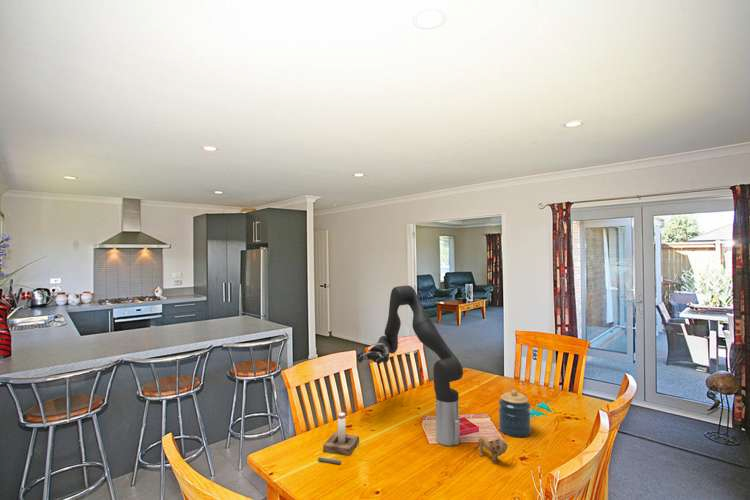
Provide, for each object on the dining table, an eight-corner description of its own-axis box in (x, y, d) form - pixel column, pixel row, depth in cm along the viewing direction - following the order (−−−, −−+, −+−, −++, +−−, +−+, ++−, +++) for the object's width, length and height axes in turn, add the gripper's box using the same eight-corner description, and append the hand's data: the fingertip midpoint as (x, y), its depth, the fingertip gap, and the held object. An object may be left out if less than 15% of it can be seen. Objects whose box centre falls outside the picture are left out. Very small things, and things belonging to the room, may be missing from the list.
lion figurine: (510, 463, 140) (510, 439, 140) (501, 468, 136) (501, 443, 137) (477, 447, 151) (477, 425, 152) (469, 452, 148) (468, 428, 148)
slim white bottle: (346, 445, 154) (346, 412, 154) (343, 449, 151) (343, 415, 151) (339, 444, 155) (339, 411, 155) (336, 447, 152) (336, 415, 152)
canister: (531, 427, 169) (531, 387, 169) (529, 440, 157) (529, 397, 158) (500, 422, 174) (500, 383, 175) (497, 434, 163) (496, 392, 163)
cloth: (537, 423, 174) (537, 418, 175) (512, 413, 186) (512, 408, 186) (570, 411, 188) (570, 406, 188) (544, 401, 200) (544, 397, 200)
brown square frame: (359, 442, 156) (359, 436, 156) (349, 455, 146) (349, 449, 146) (334, 438, 160) (334, 432, 160) (323, 451, 149) (323, 445, 149)
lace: (341, 463, 140) (341, 460, 140) (340, 465, 139) (340, 461, 139) (318, 459, 143) (318, 456, 143) (317, 461, 142) (317, 458, 142)
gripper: (364, 343, 185) (353, 351, 170) (393, 345, 181) (384, 353, 166) (364, 359, 185) (353, 368, 170) (393, 361, 181) (384, 371, 166)
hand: (368, 361), depth 168 cm, fingers open, 8 cm apart
